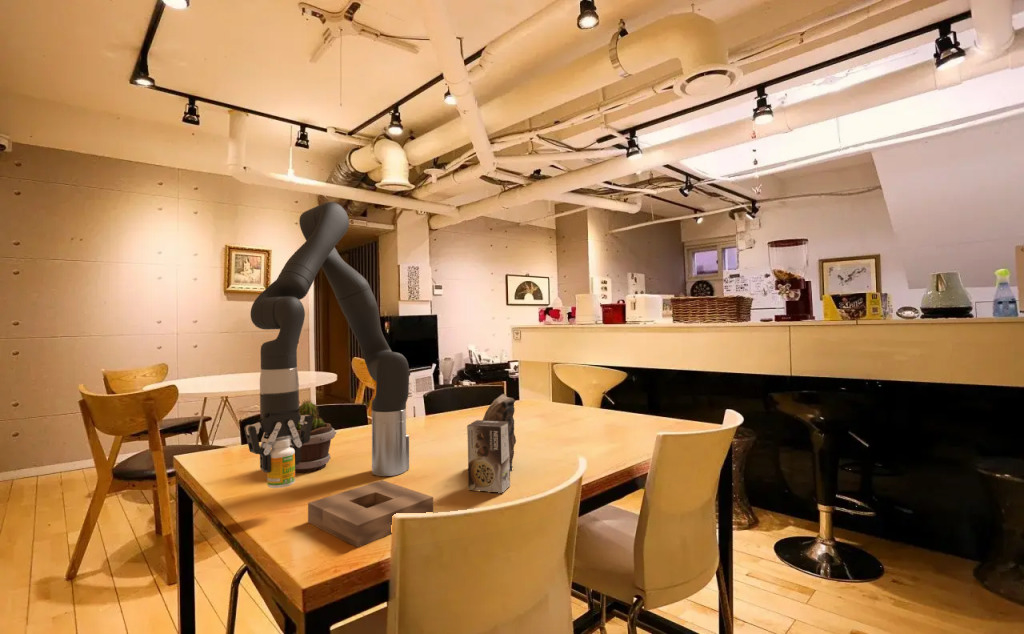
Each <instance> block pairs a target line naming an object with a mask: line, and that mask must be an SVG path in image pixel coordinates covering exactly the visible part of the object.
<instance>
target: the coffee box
mask: <svg viewBox="0 0 1024 634" xmlns="http://www.w3.org/2000/svg"><path fill="white" fill-rule="evenodd" d="M466 429H467V433H466V435H467V463H468V464H467V469H468V470H467V474H468V476H467V477H468V478H467V481H468V485H467V486H468V487H467V488H468V489H470V490H480V491H489V492H488V493H490V492H498V493H497V494H500V493H502V492H504V491H505V490H506V489H507V488H508V487H509V486H510V487H511V472H510V450H509V422H505V421H484V420H483V419H482V420H479V419H477V420H474V421H473V422H471V423H469V424H467V427H466ZM510 487H509V488H510ZM509 488H508V489H509ZM508 489H507V490H508ZM507 490H506V491H507ZM480 491H479V492H480ZM506 491H505V492H506ZM505 492H504V493H505ZM502 494H503V493H502Z"/></svg>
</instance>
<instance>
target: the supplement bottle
mask: <svg viewBox="0 0 1024 634" xmlns="http://www.w3.org/2000/svg"><path fill="white" fill-rule="evenodd" d="M290 445H291V438H290V437H279V438H276V440H275V442H274V444H273V445H272V447H271V450H270V453H269V454H270V455H271V472H268V473H266V475H267V477H266V480H267V481H266V483H267V487H268V488H270V489H280V488H281V489H282V488H286V487H289V486H291V485H293V484H295V483H296V472H295V450H294V448H292V447H290Z"/></svg>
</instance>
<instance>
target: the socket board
mask: <svg viewBox="0 0 1024 634" xmlns="http://www.w3.org/2000/svg"><path fill="white" fill-rule="evenodd" d="M426 512H433V513H434V497H433V496H432V495H428V494H425V493H422V492H420V491H416V490H413V489H410V488H408V487H404V486H401V485H398V484H395V483H392V482H389V481H386V480H384V479H381V480H378V481H374V482H371V483H368V484H365V485H361V486H359V487H355V488H352V489H348V490H344V491H341V492H339V493H336V494H335V493H334V494H332V495H329V496H326V497H322V498H319V499H316V500H313V501H309V502H308V503H307V522H308V523H309V524H310V525H313V526H315V527H317V528H318V529H321V530H323V531H324V532H326V533H328V534H330V535H333V537H336V538H338V539H340V540H342V541H344V542H346V543H347V544H349V545H352V546H354V547H355V548H361V547H363V546H365V545H367V544H369V543H372V542H375V541H377V540H379V539H381V538H384V537H388V536H389V535H392V533H391V525H392V516H393V515H394V514H396V513H426Z"/></svg>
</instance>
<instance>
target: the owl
mask: <svg viewBox="0 0 1024 634" xmlns="http://www.w3.org/2000/svg"><path fill="white" fill-rule="evenodd" d="M515 402H516V400H515V399H514V398H513V397H508V396H507V394H504V393H502V394H500V395H499V396H498V397H497V398H495V399H494V400H493V401H492V403H491V404H490V405H489V406H488V408H487V409H486V411H485V413H484V416H483V418H482V420H484V421H505V422H509V450H510V471H511V470H512V468H513V459H514V456H515V445H516V442H517V439H516V435H515V419H514V414H515ZM511 472H512V471H511Z"/></svg>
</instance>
